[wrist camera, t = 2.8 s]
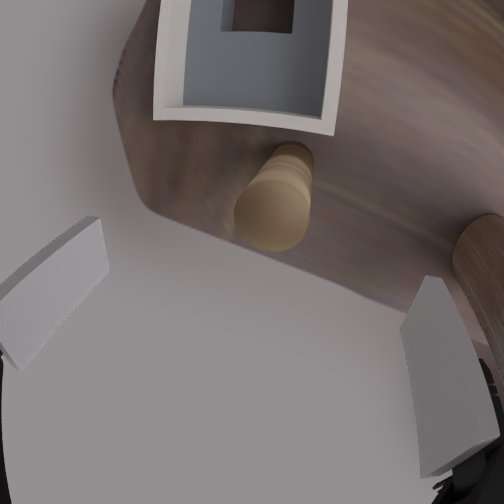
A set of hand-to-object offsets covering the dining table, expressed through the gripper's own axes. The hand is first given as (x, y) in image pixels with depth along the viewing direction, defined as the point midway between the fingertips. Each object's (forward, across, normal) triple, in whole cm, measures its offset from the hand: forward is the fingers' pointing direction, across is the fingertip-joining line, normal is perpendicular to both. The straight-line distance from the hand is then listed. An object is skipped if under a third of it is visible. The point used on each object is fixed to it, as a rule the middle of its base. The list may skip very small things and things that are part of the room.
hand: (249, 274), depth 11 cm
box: (+19, -4, +15) cm, 25 cm away
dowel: (+19, 0, 0) cm, 19 cm away
